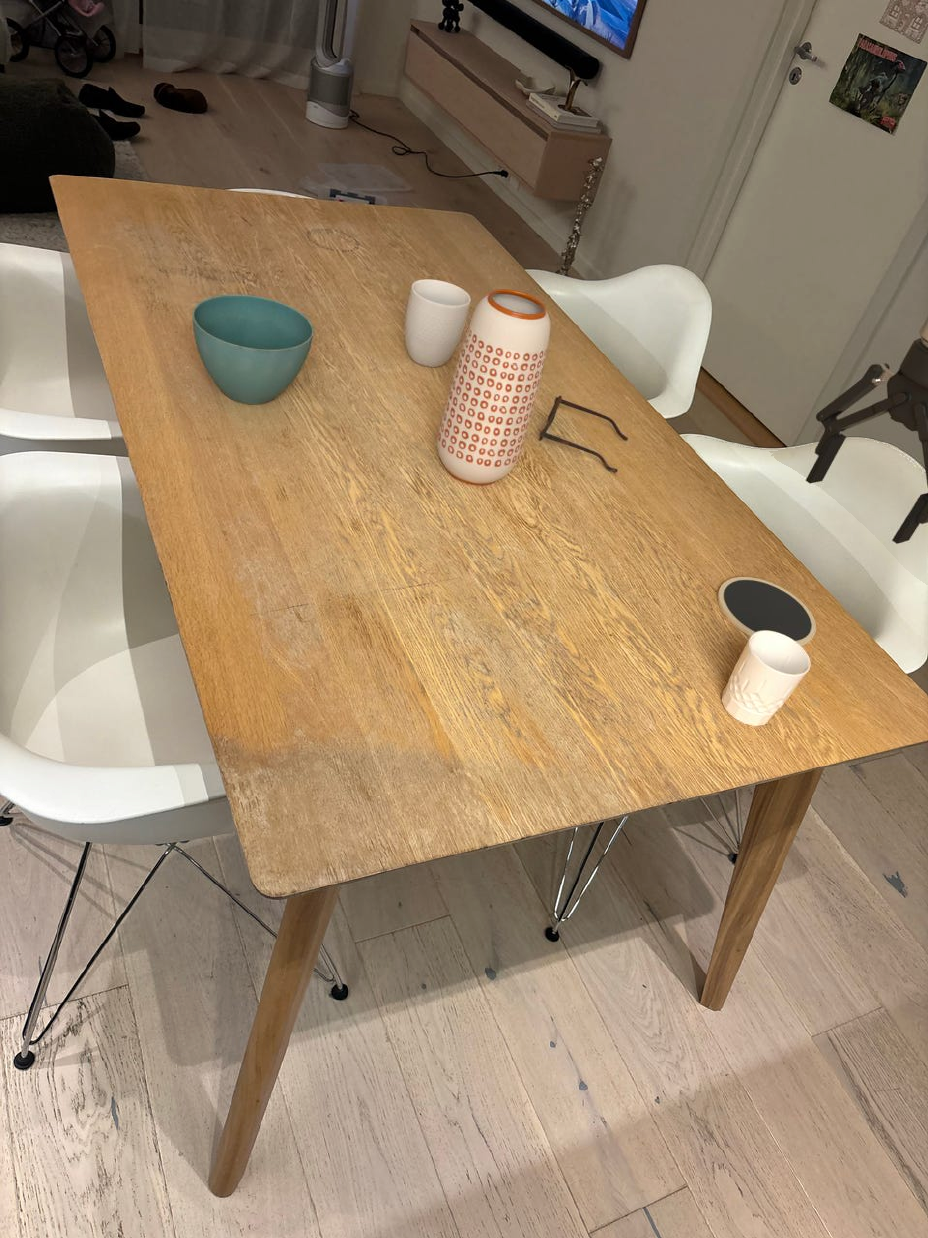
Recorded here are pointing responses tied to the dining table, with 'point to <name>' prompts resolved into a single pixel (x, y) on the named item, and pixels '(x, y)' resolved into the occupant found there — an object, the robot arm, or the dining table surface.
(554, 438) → the eyeglasses
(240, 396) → the teal bowl
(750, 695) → the white cup
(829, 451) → the robot arm
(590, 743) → the dining table surface
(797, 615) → the face circle
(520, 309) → the patterned vase
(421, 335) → the mug
